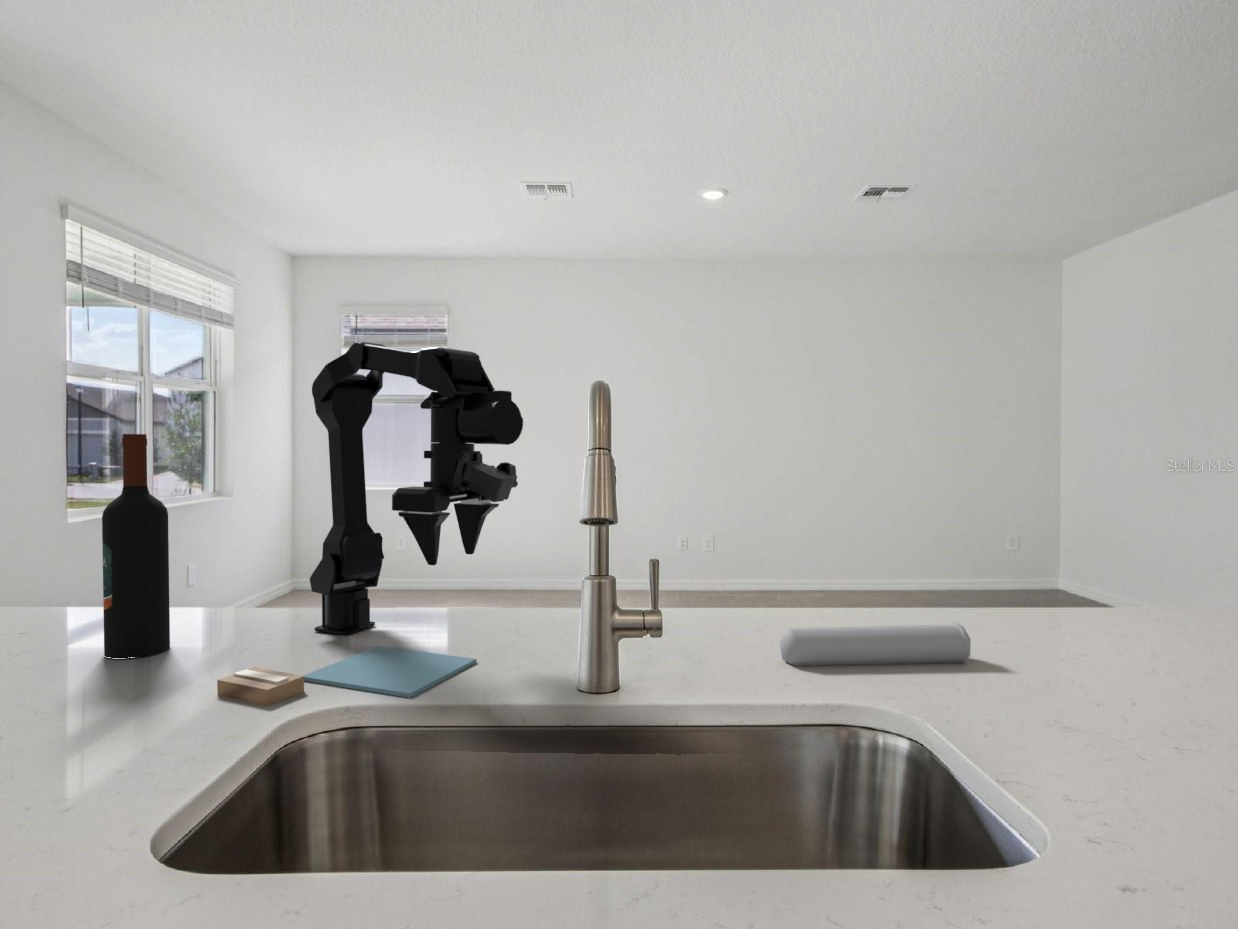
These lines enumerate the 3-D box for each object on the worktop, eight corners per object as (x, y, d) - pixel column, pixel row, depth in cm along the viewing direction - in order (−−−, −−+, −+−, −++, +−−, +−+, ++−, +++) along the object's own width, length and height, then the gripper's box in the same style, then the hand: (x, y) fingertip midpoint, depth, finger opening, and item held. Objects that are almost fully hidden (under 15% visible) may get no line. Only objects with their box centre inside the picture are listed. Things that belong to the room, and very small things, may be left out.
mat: (301, 680, 87) (301, 676, 87) (378, 649, 100) (378, 645, 100) (410, 698, 81) (410, 693, 81) (476, 662, 94) (476, 658, 94)
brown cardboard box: (217, 698, 82) (217, 677, 82) (255, 685, 86) (255, 664, 86) (267, 709, 78) (267, 687, 78) (304, 694, 83) (303, 673, 83)
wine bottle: (137, 661, 94) (133, 433, 93) (89, 657, 95) (85, 433, 94) (183, 645, 101) (180, 434, 100) (138, 642, 103) (135, 434, 102)
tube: (788, 642, 91) (974, 637, 93) (776, 619, 96) (953, 615, 98) (784, 677, 93) (966, 671, 95) (772, 652, 98) (946, 648, 100)
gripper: (468, 445, 84) (467, 576, 84) (537, 444, 101) (536, 553, 102) (389, 443, 87) (388, 569, 88) (469, 442, 105) (468, 547, 106)
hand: (451, 559), depth 96 cm, fingers open, 9 cm apart
